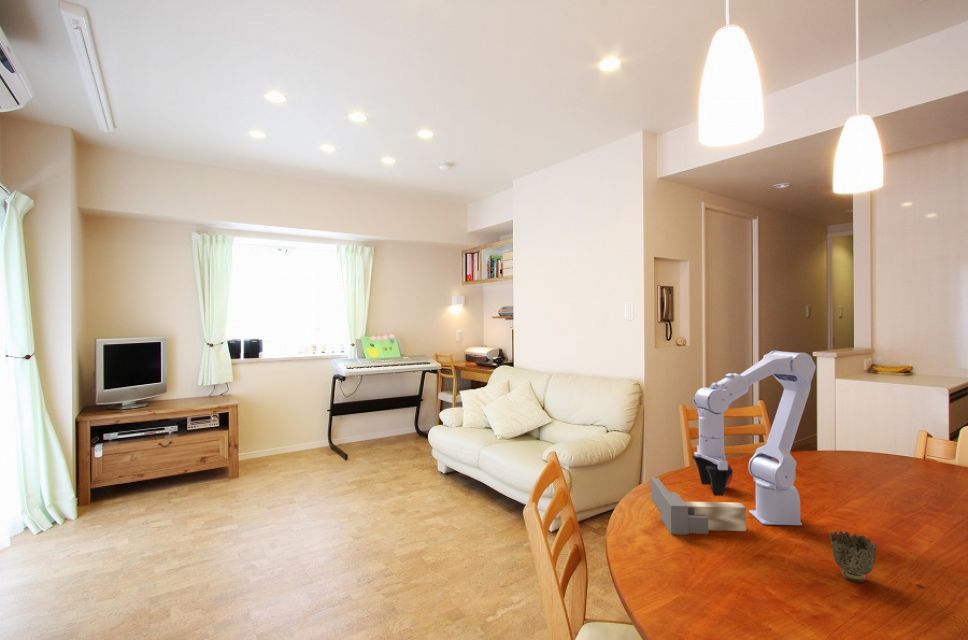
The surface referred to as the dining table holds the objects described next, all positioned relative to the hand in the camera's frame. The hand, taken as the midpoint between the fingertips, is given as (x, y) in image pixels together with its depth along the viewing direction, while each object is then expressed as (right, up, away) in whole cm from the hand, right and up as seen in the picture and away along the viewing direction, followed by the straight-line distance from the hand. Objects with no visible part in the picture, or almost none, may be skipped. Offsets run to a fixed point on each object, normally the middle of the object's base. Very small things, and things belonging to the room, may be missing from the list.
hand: (711, 489), depth 119 cm
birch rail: (0, -10, 0) cm, 10 cm away
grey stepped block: (-6, -9, +7) cm, 13 cm away
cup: (+17, -10, -24) cm, 31 cm away
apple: (+15, -9, +26) cm, 32 cm away
